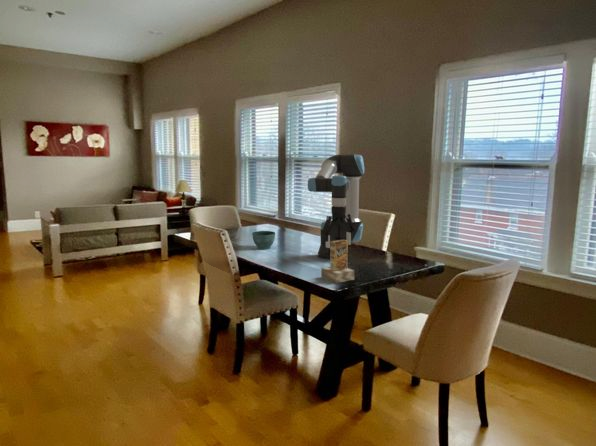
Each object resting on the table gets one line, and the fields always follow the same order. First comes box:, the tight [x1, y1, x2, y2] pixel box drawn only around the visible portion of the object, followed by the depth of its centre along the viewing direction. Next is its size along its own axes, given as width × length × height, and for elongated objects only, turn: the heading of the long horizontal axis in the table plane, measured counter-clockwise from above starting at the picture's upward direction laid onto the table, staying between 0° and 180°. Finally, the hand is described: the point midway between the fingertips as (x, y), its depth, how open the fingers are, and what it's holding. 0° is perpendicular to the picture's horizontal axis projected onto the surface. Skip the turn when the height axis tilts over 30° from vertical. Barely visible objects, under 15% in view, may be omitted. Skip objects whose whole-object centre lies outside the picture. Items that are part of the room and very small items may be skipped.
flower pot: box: [251, 230, 276, 250], centre depth 304 cm, size 16×16×11 cm
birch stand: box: [320, 266, 356, 284], centre depth 230 cm, size 12×13×5 cm
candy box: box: [329, 239, 349, 271], centre depth 229 cm, size 9×4×15 cm, turn 124°
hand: (338, 246), depth 228 cm, fingers open, 13 cm apart
